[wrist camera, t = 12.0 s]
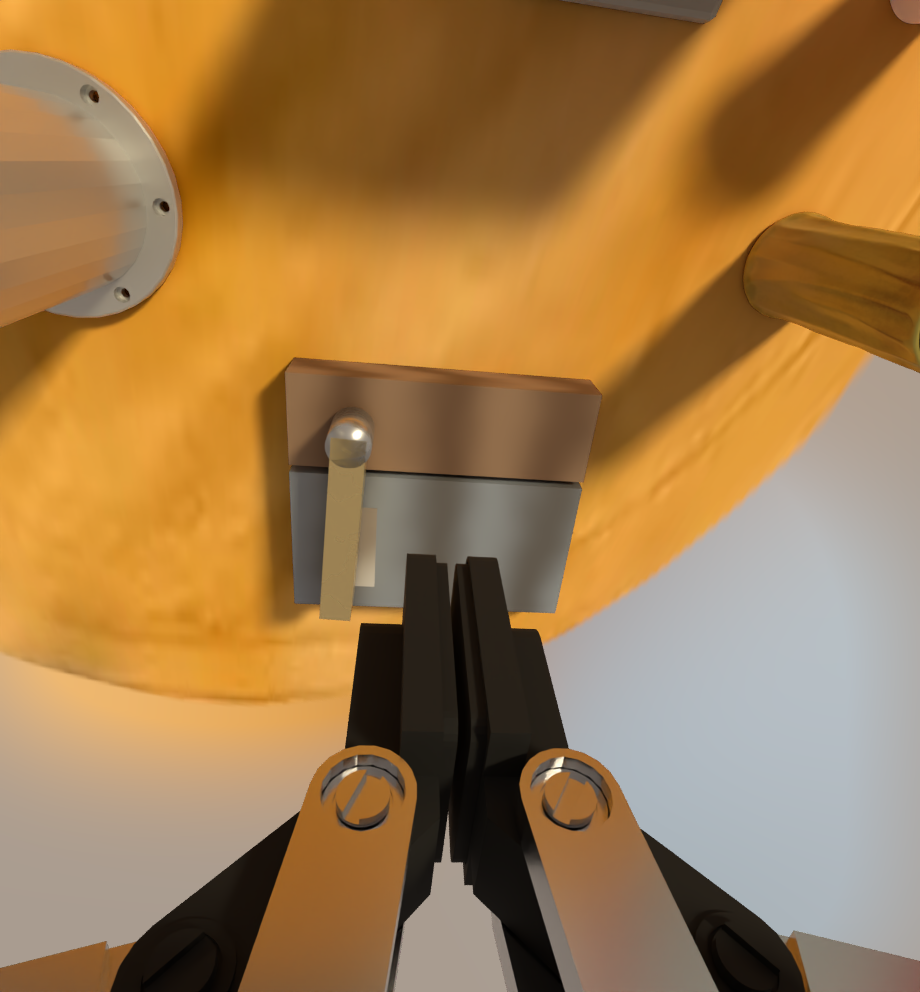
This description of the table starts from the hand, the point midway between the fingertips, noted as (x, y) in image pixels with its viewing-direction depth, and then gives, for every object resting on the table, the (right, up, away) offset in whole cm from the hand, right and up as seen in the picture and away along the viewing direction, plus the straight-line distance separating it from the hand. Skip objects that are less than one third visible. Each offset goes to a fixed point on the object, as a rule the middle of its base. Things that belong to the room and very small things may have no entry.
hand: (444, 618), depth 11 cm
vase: (+20, +16, +26) cm, 37 cm away
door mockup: (-1, +3, +32) cm, 32 cm away
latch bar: (-7, +2, +28) cm, 29 cm away
